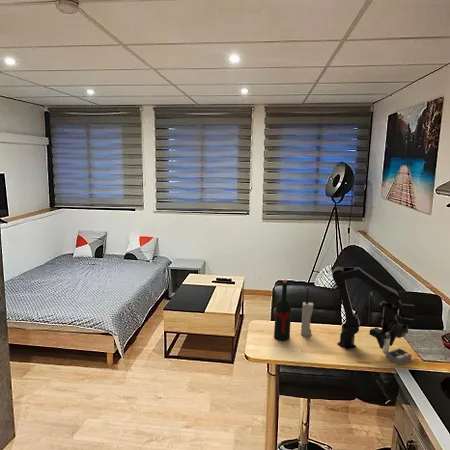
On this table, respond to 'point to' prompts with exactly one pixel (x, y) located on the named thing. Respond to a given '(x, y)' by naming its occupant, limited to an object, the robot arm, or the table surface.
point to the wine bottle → (283, 316)
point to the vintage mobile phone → (306, 317)
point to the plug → (386, 343)
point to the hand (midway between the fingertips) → (385, 347)
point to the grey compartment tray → (398, 356)
